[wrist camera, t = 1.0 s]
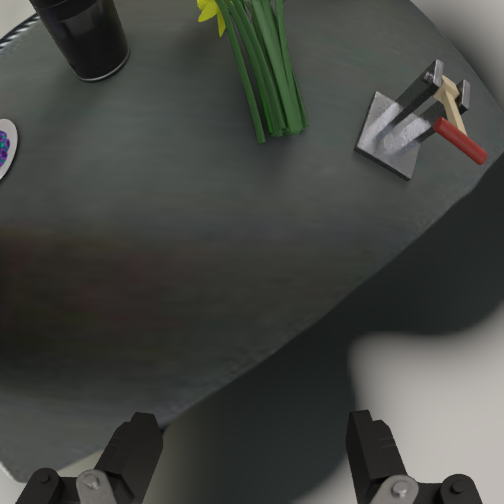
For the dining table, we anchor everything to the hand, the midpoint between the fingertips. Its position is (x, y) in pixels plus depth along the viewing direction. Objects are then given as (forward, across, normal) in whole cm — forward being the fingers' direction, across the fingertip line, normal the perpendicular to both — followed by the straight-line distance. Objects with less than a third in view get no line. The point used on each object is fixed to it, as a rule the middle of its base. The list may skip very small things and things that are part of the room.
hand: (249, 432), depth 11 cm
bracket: (+36, -19, -15) cm, 43 cm away
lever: (+20, -19, -15) cm, 32 cm away
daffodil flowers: (+37, -1, -28) cm, 46 cm away
